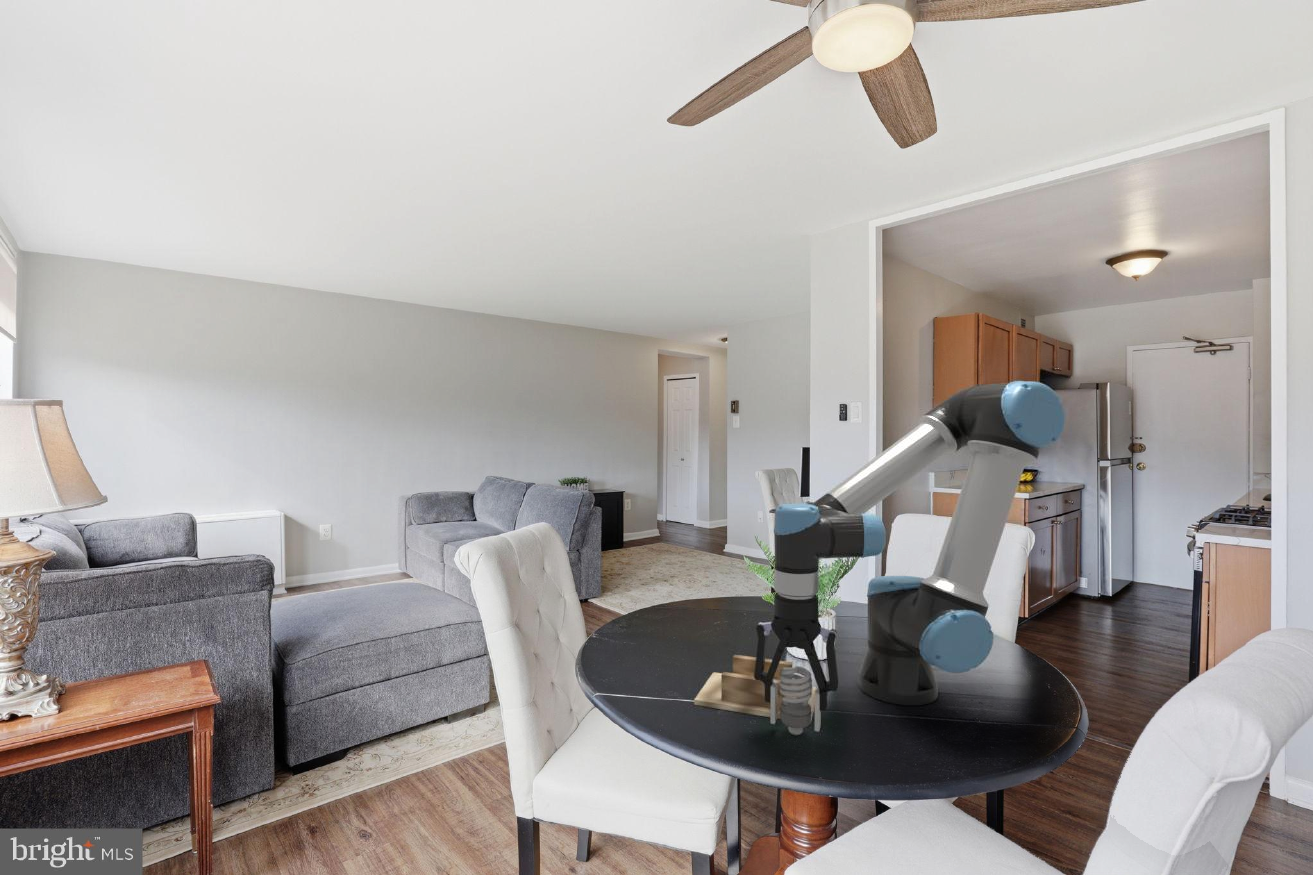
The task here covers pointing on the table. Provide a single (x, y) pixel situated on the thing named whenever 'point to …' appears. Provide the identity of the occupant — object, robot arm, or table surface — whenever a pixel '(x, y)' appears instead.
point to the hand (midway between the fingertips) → (795, 723)
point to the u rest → (744, 689)
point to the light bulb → (795, 710)
